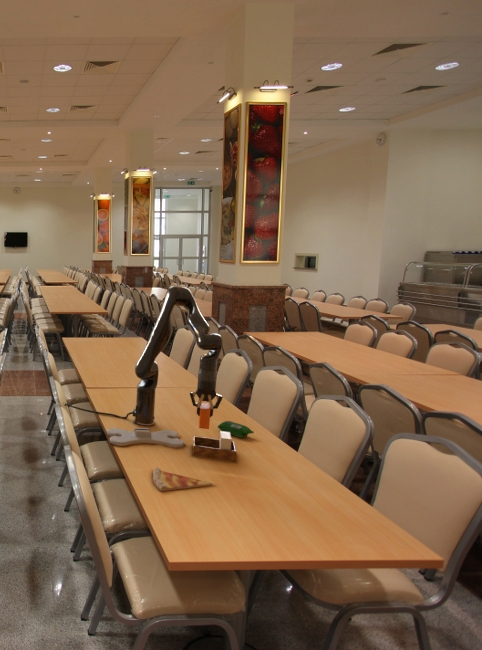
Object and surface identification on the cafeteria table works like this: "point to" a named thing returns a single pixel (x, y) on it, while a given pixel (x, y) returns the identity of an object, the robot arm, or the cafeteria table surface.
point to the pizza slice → (175, 481)
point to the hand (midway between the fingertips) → (204, 416)
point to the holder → (144, 437)
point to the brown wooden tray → (212, 449)
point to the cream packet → (225, 440)
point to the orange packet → (204, 416)
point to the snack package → (235, 428)
